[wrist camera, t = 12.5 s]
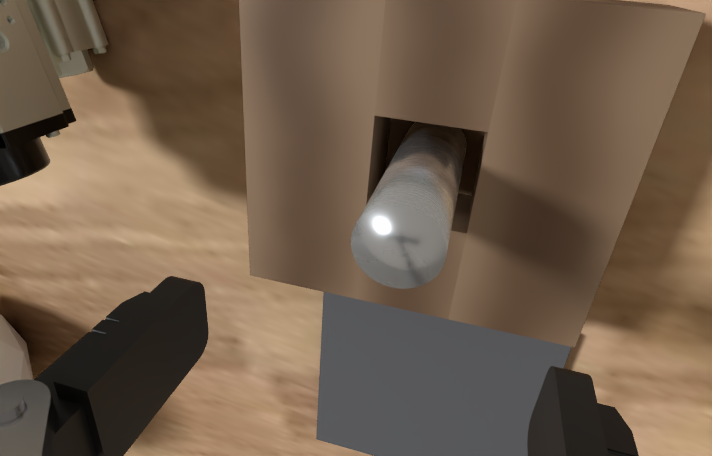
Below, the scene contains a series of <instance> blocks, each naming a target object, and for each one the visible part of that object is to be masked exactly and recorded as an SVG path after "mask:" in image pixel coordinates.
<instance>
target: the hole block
mask: <svg viewBox="0 0 712 456" xmlns="http://www.w3.org/2000/svg"><path fill="white" fill-rule="evenodd" d="M705 15H706V14H705V13H701V12H697V11H692V10H688V9H684V8H679V7H675V6H671V5H663V4H652V3H641V2H631V1H620V0H239V17H240V41H241V65H242V89H243V114H244V138H245V162H246V186H247V211H248V235H249V259H250V275H251V276H256V277H260V278H265V279H269V280H274V281H278V282H283V283H287V284H292V285H296V286H301V287H305V288H310V289H314V290H319V291H323V292H328V293H332V294H337V295H341V296H346V297H350V298H354V299H359V300H363V301H368V302H372V303H377V304H381V305H386V306H390V307H395V308H399V309H404V310H408V311H413V312H417V313H422V314H426V315H431V316H435V317H440V318H444V319H449V320H453V321H458V322H462V323H467V324H471V325H476V326H480V327H485V328H489V329H494V330H498V331H503V332H507V333H512V334H516V335H521V336H525V337H530V338H534V339H539V340H543V341H548V342H552V343H557V344H561V345H566V346H570V347H575V346H576V343H577V341H578V338H579V336H580V333H581V330H582V328H583V325H584V323H585V320H586V318H587V315H588V313H589V310H590V308H591V305H592V302H593V300H594V297H595V295H596V292H597V290H598V287H599V285H600V282H601V280H602V277H603V274H604V272H605V269H606V267H607V264H608V262H609V259H610V257H611V254H612V252H613V249H614V246H615V244H616V241H617V239H618V236H619V234H620V231H621V229H622V226H623V224H624V221H625V218H626V216H627V213H628V211H629V208H630V206H631V203H632V201H633V198H634V196H635V193H636V190H637V188H638V185H639V183H640V180H641V178H642V175H643V173H644V170H645V168H646V165H647V162H648V160H649V157H650V155H651V152H652V150H653V147H654V145H655V142H656V140H657V137H658V134H659V132H660V129H661V127H662V124H663V122H664V119H665V117H666V114H667V112H668V109H669V106H670V104H671V101H672V99H673V96H674V94H675V91H676V89H677V86H678V84H679V81H680V78H681V76H682V73H683V71H684V68H685V66H686V63H687V61H688V58H689V56H690V53H691V50H692V48H693V45H694V43H695V40H696V38H697V35H698V33H699V30H700V28H701V25H702V22H703V20H704V17H705ZM391 118H395V119H402V120H408V121H415V122H422V123H429V124H436V125H442V126H449V127H456V128H463V129H469V130H476V131H483V132H485V135H484V140H483V145H482V149H481V154H480V159H479V164H478V168H477V173H476V178H475V183H474V187H473V192H472V196H469V195H463V194H458V196H457V201H456V207H455V212H454V217H453V223H452V228H451V233H450V239H449V244H448V249H447V255H446V259H445V263H444V265H443V267H442V269H441V271H440V272H439V274H438V275H437V276H436V277H435V278H434V279H432V280H431V281H429V282H428V283H426V284H424V285H422V286H419V287H415V288H409V289H399V288H392V287H388V286H385V285H383V284H380V283H378V282H376V281H375V280H373V279H372V278H370V277H369V276H368V275H367V274H365V273H364V272H363V270H362V269H361V268H360V267H359V265H358V264H357V262H356V260H355V258H354V256H353V253H352V248H351V236H352V232H353V229H354V227H355V225H356V223H357V221H358V219H359V217H360V216H361V214H362V212H363V210H364V209H365V207H366V205H367V203H368V201H369V200H370V198H371V196H372V194H373V193H374V191H375V189H376V187H377V185H378V184H379V182H380V180H381V178H382V177H383V175H384V173H385V166H386V157H387V148H388V139H389V130H390V120H391Z"/></svg>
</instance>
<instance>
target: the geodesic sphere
mask: <svg viewBox="0 0 712 456" xmlns="http://www.w3.org/2000/svg"><path fill="white" fill-rule="evenodd" d="M25 379H29V380H33V375H32V370H31V365H30V359H29V354H28V349H27V344H26V342H25V341H24V340H23V338H22V337H21V336H20V335H19V334H18V333H17V332H16V331H15V329H14V328H13V327H12V326H11V325H10V324H9V323H8V322H7V321H6V319H5V318H4V317H3V316H2V315H0V385H1V384H4V383H7V382H11V381H15V380H25Z"/></svg>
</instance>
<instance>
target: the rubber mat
mask: <svg viewBox="0 0 712 456" xmlns="http://www.w3.org/2000/svg"><path fill="white" fill-rule="evenodd" d="M570 350H571V347H570V346H566V345H561V344H557V343H552V342H548V341H543V340H539V339H534V338H530V337H525V336H521V335H516V334H512V333H507V332H503V331H498V330H494V329H489V328H485V327H480V326H476V325H471V324H467V323H462V322H458V321H453V320H449V319H444V318H440V317H435V316H431V315H426V314H422V313H417V312H413V311H408V310H404V309H399V308H395V307H390V306H386V305H381V304H377V303H372V302H368V301H363V300H359V299H354V298H350V297H346V296H341V295H337V294H332V293H328V292H324V297H323V317H322V337H321V357H320V377H319V397H318V417H317V437H316V439H317V440H321V441H324V442H328V443H331V444H335V445H339V446H342V447H346V448H349V449H353V450H356V451H360V452H363V453H367V454H370V455H374V456H528V449H527V439H528V429H529V423H530V419H531V415H532V412H533V410H534V407H535V404H536V401H537V399H538V396H539V393H540V390H541V388H542V385H543V382H544V379H545V377H546V374H547V372H548V370H549V368H550V367H551V366H554V367H558V368H564V365H565V362H566V360H567V357H568V355H569V352H570Z"/></svg>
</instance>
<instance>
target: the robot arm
mask: <svg viewBox="0 0 712 456" xmlns="http://www.w3.org/2000/svg"><path fill="white" fill-rule="evenodd" d="M207 340H208V322H207V311H206V301H205V291H204V287H203V285H202V284H201V283H200V282H195V281H191V280H187V279H183V278H178V277H174V276H170V277H167V278H166V279H165V280H163V281H162V282H161V283H160V284H159V285H158V286H157V287H156V288H155V289H154V290H153V291H151V292H150V293H148V292H143V293H141V294H139V295H137V296H135V297H133V298H131V299H129V300H126V301H124V302H123V303H121V304H120V305H119V306H118V307H117V308H116V309H114V310H113V311H112V312H111V313H110V314H109V315H108V316H106V319H105V320H102V321H101V322H100V323H98V324H97V325H96V326H95V327H94V328H93V329H92V332H88V333H87V334H86V335H85V336H84V337H82V338H81V339H80V340H79V341H78V342H77V343H76V344H74V345H73V346H72V347H71V348H70V349H69V350H68V351H66V352H65V353H64V354H63V355H62V356H61V357H60V358H58V359H57V360H56V361H55V362H54V363H53V364H52V365H50V366H49V367H48V368H47V369H46V370H45V371H44V372H42V373H41V374H40V375H39V376H38V377H37V378H35V379H34V380H29V379H25V380H15V381H11V382H7V383H4V384H1V385H0V456H124V454H125V453H126V452H127V450H128V449H129V448H130V447H131V445H132V444H133V443H134V441H135V440H136V439H137V438H138V436H139V435H140V434H141V432H142V431H143V430H144V429H145V427H146V426H147V425H148V424H149V422H150V421H151V420H152V418H153V417H154V416H155V415H156V413H157V412H158V411H159V409H160V408H161V407H162V406H163V404H164V403H165V402H166V400H167V399H168V398H169V397H170V395H171V394H172V393H173V392H174V390H175V389H176V388H177V386H178V385H179V384H180V383H181V381H182V380H183V379H184V377H185V376H186V375H187V374H188V372H189V371H190V370H191V368H192V367H193V366H194V365H195V363H196V362H197V361H198V360H199V358H200V357H201V355H202V354H203V352H204V349H205V347H206V344H207ZM527 449H528V456H639V455H638V451H637V448H636V444H635V441H634V437H633V434H632V431H631V430H630V428H629V427H628V425H627V424H626V423H625V421H624V420H623V418H622V417H621V416H620V414H619V413H618V411H617V410H616V409H615V407H611V406H607V405H603V404H599V403H597V399H596V395H595V390H594V386H593V381H592V378H591V376H590V375H588V374H584V373H580V372H576V371H571V370H567V369H563V368H558V367H554V366H551V367H550V368H549V370H548V372H547V374H546V377H545V379H544V382H543V385H542V388H541V390H540V393H539V396H538V399H537V401H536V404H535V407H534V410H533V412H532V415H531V419H530V423H529V429H528V439H527Z"/></svg>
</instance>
